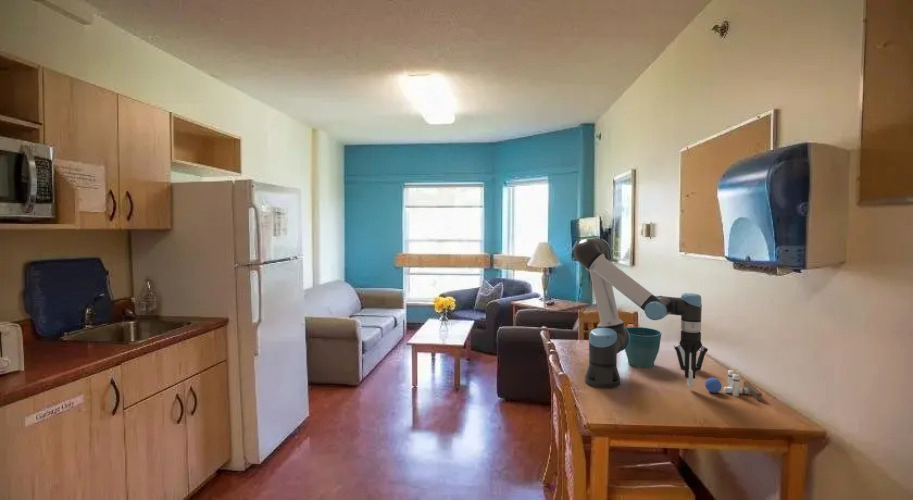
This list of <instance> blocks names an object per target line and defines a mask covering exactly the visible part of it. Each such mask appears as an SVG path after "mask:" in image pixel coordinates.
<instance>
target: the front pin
mask: <svg viewBox="0 0 913 500" xmlns="http://www.w3.org/2000/svg"><path fill="white" fill-rule="evenodd" d="M723 392H724V393H726V394H727V393H728V394H732V387H728V386H724V387H723ZM748 394H749V389H748V388H743V387H740V386H739V395H748ZM749 395H750V394H749Z"/></svg>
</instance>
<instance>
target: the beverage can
mask: <svg viewBox="0 0 913 500" xmlns="http://www.w3.org/2000/svg"><path fill="white" fill-rule="evenodd" d="M680 348H681V350H680V352H681V356H682V360H683V364H684V366H685V351H684V350H683V349H682V347H680ZM698 358H699V350H698V351H697V355H696V364H697V361H698ZM678 367H679V368H680V369H681V367H680V365H679V364H678ZM689 370H691V353H690V355H689Z"/></svg>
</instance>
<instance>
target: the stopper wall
mask: <svg viewBox="0 0 913 500" xmlns="http://www.w3.org/2000/svg"><path fill="white" fill-rule="evenodd" d="M742 388H748V389H749V395H750V396H751V397H752V398H753V399H754V400H756V401H757V402H763V393H762V392H761V391H759V390H758V389H757V388H756V387H755V386H754V385H752V384H751V383H750V382H749V381H747V380H746V381H744V380H743V387H742Z"/></svg>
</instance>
